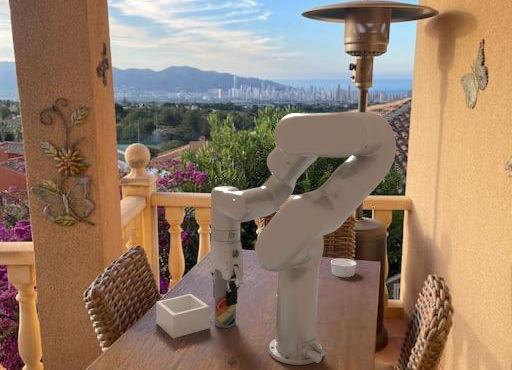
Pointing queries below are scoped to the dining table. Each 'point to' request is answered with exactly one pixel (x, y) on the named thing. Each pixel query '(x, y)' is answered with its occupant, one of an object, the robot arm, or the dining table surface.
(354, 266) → the ramekin
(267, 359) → the dining table surface
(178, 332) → the caddy
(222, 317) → the lotion bottle
